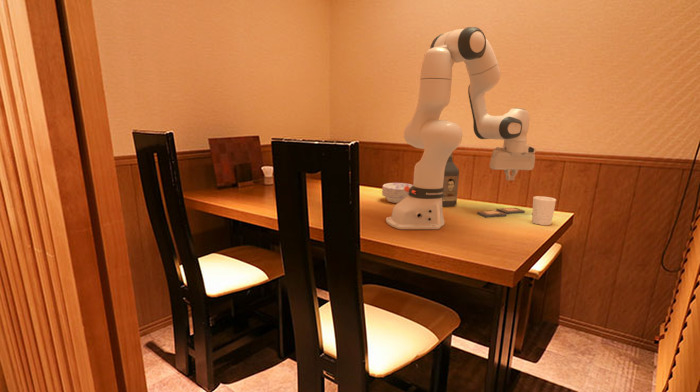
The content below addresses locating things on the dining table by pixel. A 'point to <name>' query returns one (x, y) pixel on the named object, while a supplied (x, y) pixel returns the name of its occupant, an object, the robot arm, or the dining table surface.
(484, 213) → the tile left
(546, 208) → the white cup
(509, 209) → the tile right
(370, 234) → the dining table surface
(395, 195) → the paper bowls
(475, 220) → the dining table surface
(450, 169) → the liquor
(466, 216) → the dining table surface
